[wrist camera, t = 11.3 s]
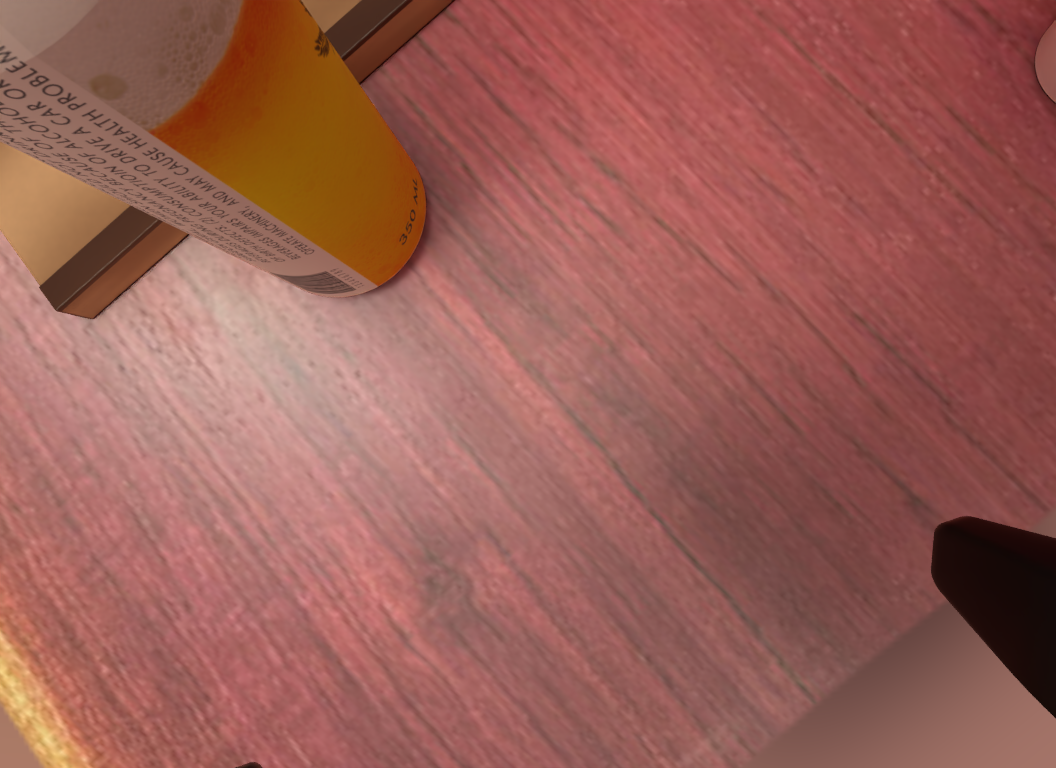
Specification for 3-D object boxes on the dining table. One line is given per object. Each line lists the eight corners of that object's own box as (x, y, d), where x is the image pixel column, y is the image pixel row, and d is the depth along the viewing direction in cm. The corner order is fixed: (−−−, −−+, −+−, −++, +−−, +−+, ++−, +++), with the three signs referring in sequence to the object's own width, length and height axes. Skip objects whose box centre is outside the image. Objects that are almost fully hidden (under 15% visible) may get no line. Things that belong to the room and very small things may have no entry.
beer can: (422, 125, 22) (72, -480, 8) (441, 288, 22) (101, -26, 7) (265, 155, 23) (-340, -350, 8) (279, 314, 23) (-348, 77, 8)
